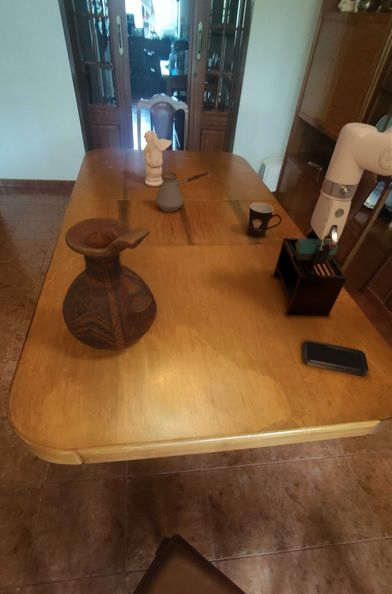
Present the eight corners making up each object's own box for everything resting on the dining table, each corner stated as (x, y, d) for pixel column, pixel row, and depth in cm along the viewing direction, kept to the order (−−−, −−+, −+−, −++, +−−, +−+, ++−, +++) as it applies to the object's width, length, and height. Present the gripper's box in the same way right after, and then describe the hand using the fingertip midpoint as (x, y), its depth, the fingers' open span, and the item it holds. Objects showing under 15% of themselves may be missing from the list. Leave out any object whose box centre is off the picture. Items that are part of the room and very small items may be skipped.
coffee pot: (153, 212, 129) (152, 172, 118) (157, 201, 137) (156, 162, 126) (205, 217, 129) (209, 177, 118) (206, 205, 137) (210, 167, 126)
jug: (67, 368, 71) (24, 245, 50) (70, 307, 85) (37, 191, 64) (163, 355, 76) (162, 238, 54) (151, 300, 90) (146, 189, 68)
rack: (308, 276, 104) (323, 239, 95) (328, 316, 90) (347, 278, 81) (273, 275, 103) (283, 237, 94) (287, 315, 89) (301, 276, 80)
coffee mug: (240, 232, 122) (245, 206, 115) (254, 226, 127) (260, 200, 119) (263, 244, 117) (270, 218, 110) (277, 238, 121) (285, 212, 114)
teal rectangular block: (327, 254, 89) (333, 239, 86) (331, 261, 87) (338, 246, 83) (293, 253, 88) (298, 238, 85) (296, 260, 86) (301, 244, 83)
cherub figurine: (145, 178, 154) (143, 124, 138) (170, 179, 156) (171, 126, 140) (144, 187, 146) (141, 131, 130) (171, 189, 147) (171, 133, 131)
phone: (369, 374, 75) (305, 361, 76) (367, 377, 75) (303, 364, 77) (364, 350, 80) (304, 338, 81) (362, 353, 81) (303, 341, 82)
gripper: (369, 204, 69) (337, 273, 81) (341, 175, 81) (317, 240, 93) (335, 202, 68) (309, 272, 81) (312, 174, 80) (292, 239, 93)
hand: (313, 254), depth 87 cm, fingers open, 7 cm apart
